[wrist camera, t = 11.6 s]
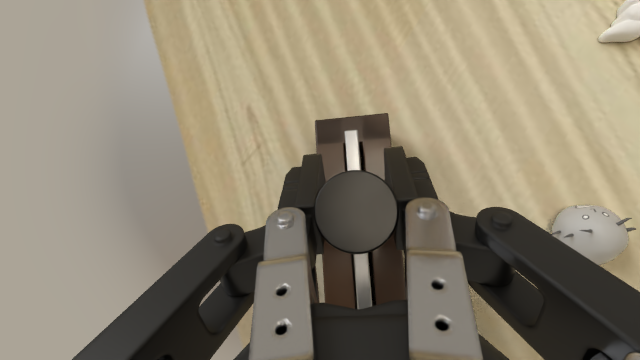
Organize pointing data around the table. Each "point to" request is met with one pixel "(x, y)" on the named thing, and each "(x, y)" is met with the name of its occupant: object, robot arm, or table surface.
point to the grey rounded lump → (592, 232)
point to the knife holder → (372, 149)
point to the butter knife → (356, 215)
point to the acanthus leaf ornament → (624, 24)
